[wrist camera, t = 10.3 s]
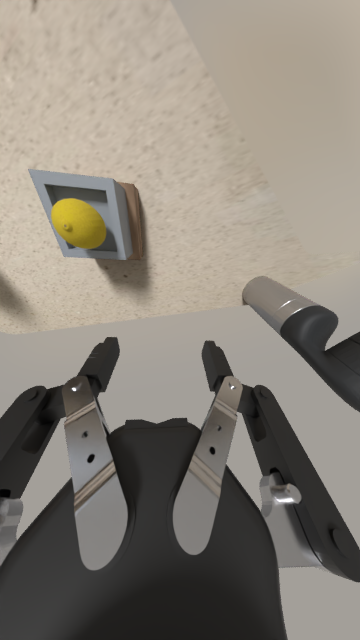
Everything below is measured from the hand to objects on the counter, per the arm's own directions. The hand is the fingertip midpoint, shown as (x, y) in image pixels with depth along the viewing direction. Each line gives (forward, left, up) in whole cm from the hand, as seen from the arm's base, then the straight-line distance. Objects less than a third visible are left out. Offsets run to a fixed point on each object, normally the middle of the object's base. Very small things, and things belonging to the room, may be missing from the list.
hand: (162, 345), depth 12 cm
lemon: (+11, -8, -19) cm, 23 cm away
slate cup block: (+12, -8, -24) cm, 28 cm away
